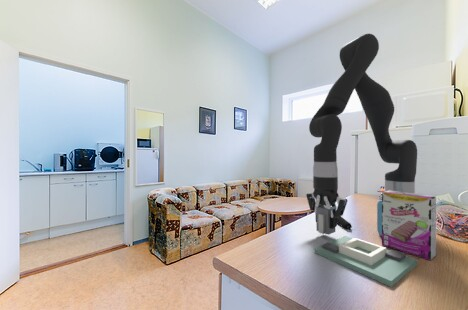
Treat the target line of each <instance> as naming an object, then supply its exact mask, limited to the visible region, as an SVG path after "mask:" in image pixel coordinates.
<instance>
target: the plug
mask: <svg viewBox="0 0 468 310" xmlns="http://www.w3.org/2000/svg"><path fill="white" fill-rule="evenodd" d="M315 223H316V225H315V226H316V232H318V233H319V234H321V235H323V234H325V235H328V236H329V235H331V234H334V233H336V227H335V228H334V229H331V228H330V213H329V210H328V209H327V206H325V205H324V206H321V207H316V215H315Z"/></svg>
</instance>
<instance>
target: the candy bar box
mask: <svg viewBox="0 0 468 310" xmlns="http://www.w3.org/2000/svg"><path fill="white" fill-rule="evenodd" d="M381 201H382V236H381V246H382V247H386V248H390V249H391V250H395V251H398V252H401V253H404V254H409V255H412V256H414V257H418V258H421V259H424V260H428V261H432V260H433V259H434V258H435V257H436V255H437V246H436V245H437V196H435V195H430V194H429V195H427V194H422V193H421V194H419V193H415V194H414V193H406V192H398V191H390V190H388V191H385V190H383V191H381Z"/></svg>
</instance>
